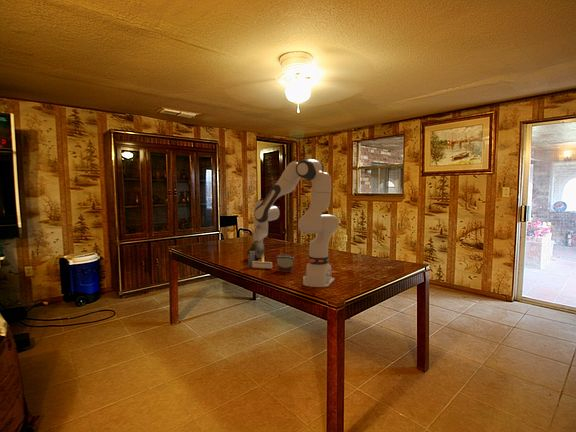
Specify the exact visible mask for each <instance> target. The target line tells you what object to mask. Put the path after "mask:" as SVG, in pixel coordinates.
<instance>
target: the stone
mask: <svg viewBox="0 0 576 432" xmlns="http://www.w3.org/2000/svg"><path fill="white" fill-rule="evenodd" d="M250 251H255V252H254V253H255V259H259V260H260V258H261V257H262V256H263V255H264V252H265V245H264V243H263V245H261V246H259V242H258V241H254V242H253V243H252V244H251V246H250V248H249V249H248V250H247V252H246V254H247V255H249V254H250Z"/></svg>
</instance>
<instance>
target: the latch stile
mask: <svg viewBox="0 0 576 432" xmlns="http://www.w3.org/2000/svg"><path fill="white" fill-rule="evenodd" d="M254 252H255V251H250V254H251V255H252V262H253V261H256V260H255V259H256V258H255V253H254Z"/></svg>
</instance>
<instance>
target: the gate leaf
mask: <svg viewBox="0 0 576 432" xmlns="http://www.w3.org/2000/svg"><path fill="white" fill-rule="evenodd" d="M252 268H257V269H258V268H259V269H273V262H272V261H259V260H258V261H256V260H255V261H253V262H252Z"/></svg>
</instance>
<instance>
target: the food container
mask: <svg viewBox="0 0 576 432" xmlns="http://www.w3.org/2000/svg"><path fill="white" fill-rule="evenodd" d="M275 259H276V261H277V263H276V264H277V270H278V272H291V273H292V272H293V266H294V260H295V257H294V255H292V254H278V255H276V258H275Z"/></svg>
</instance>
